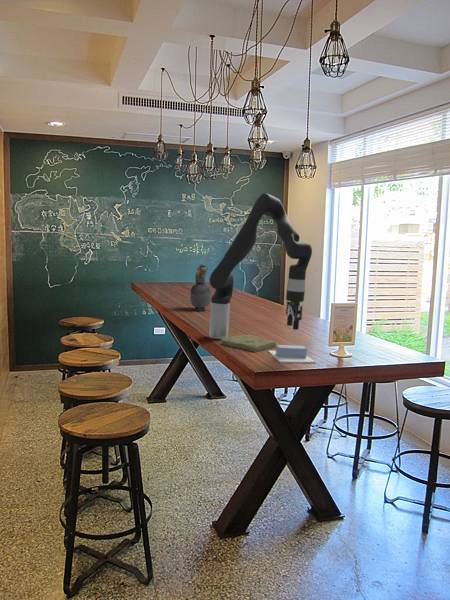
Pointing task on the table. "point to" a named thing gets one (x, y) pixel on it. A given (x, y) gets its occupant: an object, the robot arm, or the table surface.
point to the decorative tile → (249, 343)
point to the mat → (291, 359)
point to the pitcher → (200, 290)
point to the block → (291, 351)
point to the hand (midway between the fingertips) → (292, 327)
